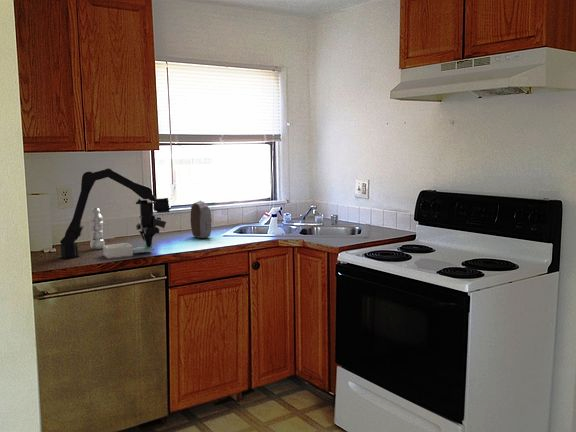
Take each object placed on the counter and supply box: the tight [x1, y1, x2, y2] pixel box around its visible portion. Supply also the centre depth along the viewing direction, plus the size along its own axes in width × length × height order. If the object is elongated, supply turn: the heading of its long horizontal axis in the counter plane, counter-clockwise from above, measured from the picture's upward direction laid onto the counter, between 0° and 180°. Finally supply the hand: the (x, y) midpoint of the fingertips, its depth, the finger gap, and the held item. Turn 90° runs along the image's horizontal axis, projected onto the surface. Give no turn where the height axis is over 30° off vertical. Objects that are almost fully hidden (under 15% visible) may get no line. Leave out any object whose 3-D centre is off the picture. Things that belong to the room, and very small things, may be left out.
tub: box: [102, 242, 134, 260], centre depth 252 cm, size 11×9×5 cm
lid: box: [132, 240, 155, 253], centre depth 257 cm, size 9×7×4 cm
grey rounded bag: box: [190, 200, 213, 239], centre depth 298 cm, size 15×8×20 cm, turn 37°
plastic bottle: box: [88, 207, 106, 250], centre depth 268 cm, size 6×7×20 cm
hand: (148, 246), depth 258 cm, fingers closed on lid, 3 cm apart
